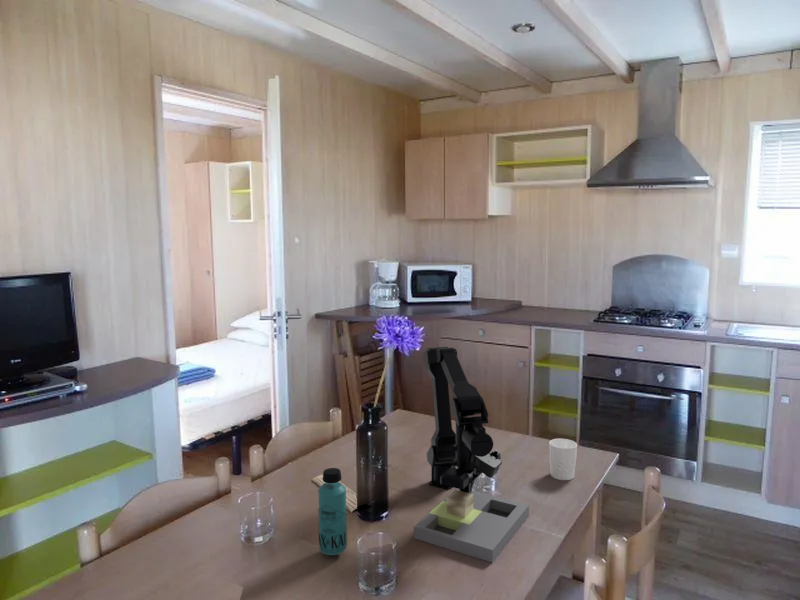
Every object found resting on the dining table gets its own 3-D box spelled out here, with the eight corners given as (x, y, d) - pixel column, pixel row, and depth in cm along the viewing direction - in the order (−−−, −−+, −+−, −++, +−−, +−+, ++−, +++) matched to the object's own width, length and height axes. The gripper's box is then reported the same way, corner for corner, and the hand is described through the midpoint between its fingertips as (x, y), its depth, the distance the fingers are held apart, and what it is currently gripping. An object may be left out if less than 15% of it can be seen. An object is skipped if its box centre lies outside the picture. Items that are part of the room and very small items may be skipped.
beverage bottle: (319, 546, 137) (317, 464, 134) (348, 545, 137) (346, 463, 135) (318, 562, 130) (315, 477, 128) (348, 561, 131) (346, 475, 128)
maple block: (446, 512, 146) (446, 497, 146) (455, 504, 150) (455, 489, 150) (465, 517, 144) (465, 502, 143) (473, 509, 148) (473, 494, 147)
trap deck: (414, 538, 140) (413, 526, 140) (457, 497, 161) (457, 487, 160) (492, 562, 130) (492, 550, 130) (528, 516, 150) (529, 504, 150)
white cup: (577, 482, 169) (578, 449, 168) (549, 480, 171) (549, 447, 169) (574, 471, 177) (575, 439, 175) (547, 469, 178) (548, 437, 177)
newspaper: (312, 482, 172) (312, 476, 172) (334, 476, 176) (333, 471, 176) (351, 515, 153) (351, 509, 152) (375, 508, 157) (375, 501, 156)
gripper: (482, 460, 136) (481, 524, 138) (510, 435, 152) (509, 492, 154) (439, 451, 142) (439, 512, 144) (470, 427, 158) (470, 483, 160)
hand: (466, 499), depth 151 cm, fingers closed
